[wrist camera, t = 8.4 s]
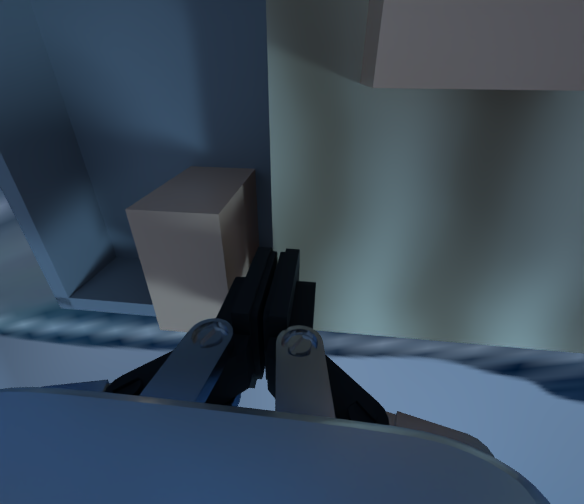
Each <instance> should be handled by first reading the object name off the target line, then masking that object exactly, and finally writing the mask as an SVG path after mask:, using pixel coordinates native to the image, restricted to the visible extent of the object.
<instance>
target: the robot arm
mask: <svg viewBox="0 0 584 504" xmlns="http://www.w3.org/2000/svg"><path fill="white" fill-rule="evenodd" d="M299 270H300V249H288V248H286V251H285V252H280V256H279V259H278V257H277V251H273V249H272V247H258V249H257V251H256V253H255V256H254V258H253V260H252V263H251V265H250V268H249V270H248V272H247V275H246V277H235V279H234V281H233V283H232V285H231V287H230V289H229V292H228V294H227V296H226V298H225V300H224V302H223V304H222V306H221V308H220V311H219V313H218V315H217V317H216V318H211V319H206V320H203V321H200V322H198V323H197V324H195V325H194V326H193V327H192V328H191V329H190V330H189V331H188V332H187V334H186V335H185V336H184V338H183V339H182V340H181V342H180V343H179V344H178V345H177V347H176V348H175V349H174V350H173V351H171V352H169V353H167V354H165V355H163V356H161V357H159V358H157V359H155V360H153V361H151V362H149V363H147V364H145V365H143V366H141V367H138V368H137V369H134V370H132V371H130V372H128V373H126V374H124V375H122V376H121V377H119V378H117V379H116V380H114V381H113V382H112V383H109V382H108V380H100V381H91V382H81V383H71V384H61V385H53V386H52V385H51V386H44V387H22V388H21V387H19V388H5V389H0V504H550V502H549V501H548V500H547V499H546V498H545V497H544V496H543V494H542V493H541V492H540V491H539V490H538V489H537V488H536V487H535V486H534V485H533V484H532V483H531V482H529V481H528V480H527V479H526V478H525V477H524V476H522V475H521V474H520V473H518V472H517V471H515V470H514V469H512V468H511V467H509V466H508V465H506V464H504V463H503V462H501V461H499V460H498V459H496V458H495V457H494V456H493V454H492V453H491V452H490V450H489V449H488V448H487V446H485V445H484V444H483V443H482V442H481V441H479V440H478V439H477V438H474V437H473V436H471V435H468V434H466V433H463V432H460V431H456V430H454V429H450V428H447V427H444V426H441V425H438V424H435V423H432V422H429V421H426V420H423V419H420V418H417V417H414V416H411V415H407V414H404V413H401V412H398V411H397V413H396V415H395V414H392V413H389V412H386V411H385V409H384V408H383V407H382V406H381V405H380V404H379V402H377V401H376V400H375V399H374V398H373V397H372V396H371V395H370V394H368V393H367V392H366V391H365V390H364V389H363V388H362V387H361V386H360V385H358V384H357V383H356V382H355V381H354V380H353V379H352V378H351V377H350V376H349V375H347V374H346V373H345V372H344V371H343V370H342V369H341V368H340V367H339V366H337V365H336V364H335V363H334V362H333V361H332V360H331V359H330V358H329V357H327V356H326V355H325V351H324V345H323V341H322V338H321V336H320V335H319V333H318V332H317V331H315V330H314V329H313V323H314V309H315V292H316V282H307V281H299ZM264 369H266V380H268V390H269V392H270V393H271V394H272V395H273V396H274V397H275V400H276V401H275V405H276V406H275V411H269V410H260V409H252V408H243V407H238V404H239V402H240V398H241V393H242V392H243V391H245V390H246V389H248V388H255V385H256V381H257V379H262V377H263V373H264Z"/></svg>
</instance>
